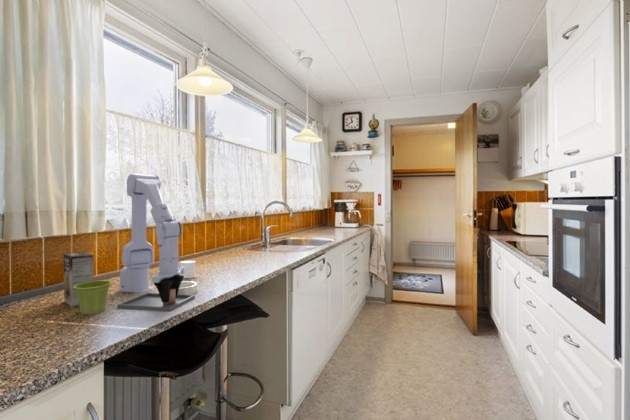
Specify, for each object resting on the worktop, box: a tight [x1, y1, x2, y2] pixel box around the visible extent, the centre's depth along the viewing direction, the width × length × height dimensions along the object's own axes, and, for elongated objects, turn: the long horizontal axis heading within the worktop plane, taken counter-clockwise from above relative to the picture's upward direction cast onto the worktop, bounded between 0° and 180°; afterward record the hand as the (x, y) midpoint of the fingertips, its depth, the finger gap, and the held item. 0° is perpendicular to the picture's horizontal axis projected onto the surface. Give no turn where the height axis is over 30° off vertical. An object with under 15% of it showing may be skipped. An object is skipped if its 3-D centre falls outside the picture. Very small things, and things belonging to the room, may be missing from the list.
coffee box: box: [63, 251, 94, 308], centre depth 111 cm, size 9×6×16 cm
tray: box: [117, 292, 196, 312], centre depth 110 cm, size 18×14×2 cm
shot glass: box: [179, 259, 197, 279], centre depth 149 cm, size 7×7×7 cm
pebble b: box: [163, 288, 176, 305], centre depth 109 cm, size 4×4×4 cm
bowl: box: [178, 280, 198, 295], centre depth 122 cm, size 11×11×3 cm
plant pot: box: [73, 279, 112, 315], centre depth 101 cm, size 9×9×9 cm
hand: (169, 299), depth 109 cm, fingers closed on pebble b, 4 cm apart
